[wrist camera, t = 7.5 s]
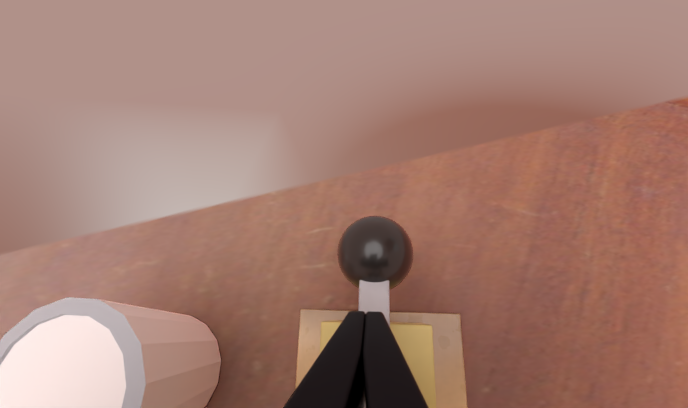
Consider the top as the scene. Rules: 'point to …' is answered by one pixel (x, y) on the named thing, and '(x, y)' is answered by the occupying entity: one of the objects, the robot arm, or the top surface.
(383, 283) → the lever
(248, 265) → the top surface
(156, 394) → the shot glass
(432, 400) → the butter
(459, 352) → the butter cutter
